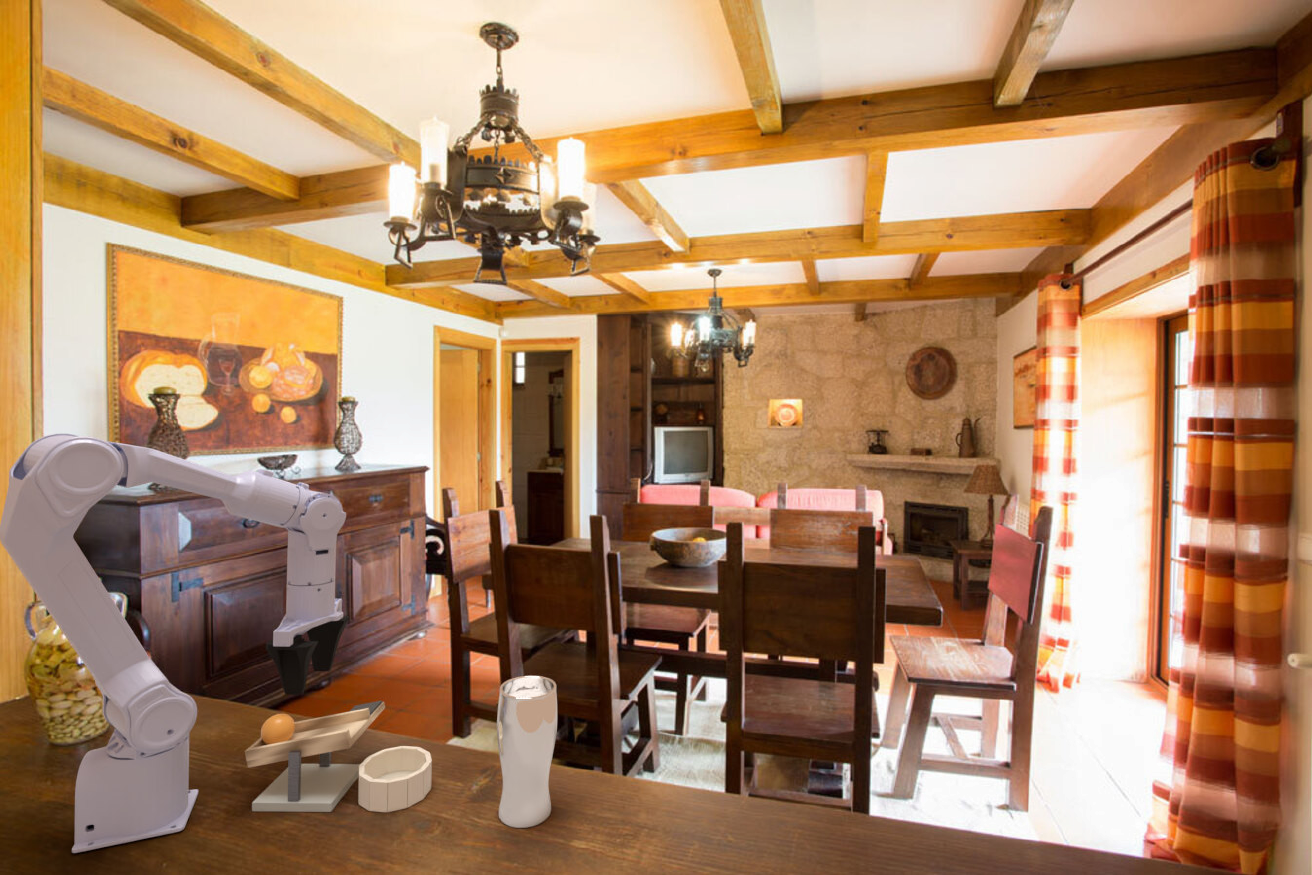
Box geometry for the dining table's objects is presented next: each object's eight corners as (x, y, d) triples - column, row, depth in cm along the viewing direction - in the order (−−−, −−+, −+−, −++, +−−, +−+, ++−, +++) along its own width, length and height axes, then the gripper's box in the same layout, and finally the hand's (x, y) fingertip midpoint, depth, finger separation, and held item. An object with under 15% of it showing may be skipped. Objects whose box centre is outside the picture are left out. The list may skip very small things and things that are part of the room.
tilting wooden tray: (247, 767, 74) (244, 751, 74) (296, 724, 84) (293, 710, 84) (349, 747, 74) (346, 731, 74) (385, 707, 85) (382, 692, 85)
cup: (358, 818, 72) (359, 788, 72) (357, 781, 80) (358, 753, 79) (434, 801, 76) (434, 773, 76) (426, 767, 83) (427, 741, 83)
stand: (251, 811, 73) (253, 753, 73) (291, 771, 81) (292, 719, 81) (330, 811, 73) (332, 754, 73) (362, 771, 82) (363, 720, 82)
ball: (261, 755, 75) (256, 725, 75) (265, 743, 78) (260, 714, 78) (295, 744, 76) (291, 715, 76) (298, 733, 79) (293, 705, 79)
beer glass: (548, 832, 71) (552, 700, 70) (487, 829, 71) (490, 697, 71) (559, 795, 78) (562, 675, 77) (503, 793, 78) (506, 673, 78)
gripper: (315, 595, 77) (313, 705, 77) (364, 568, 92) (361, 661, 92) (256, 594, 77) (254, 705, 77) (314, 567, 91) (312, 660, 92)
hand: (309, 681), depth 84 cm, fingers open, 7 cm apart
